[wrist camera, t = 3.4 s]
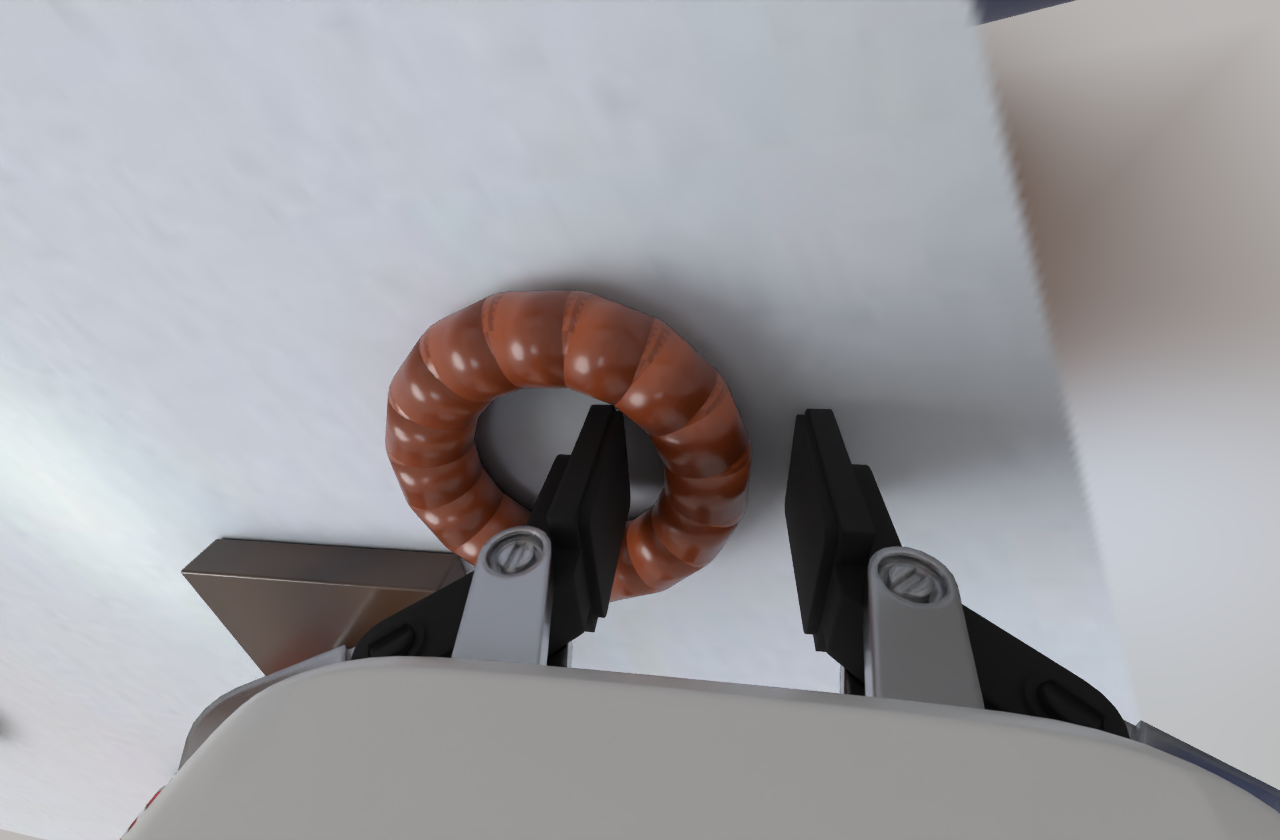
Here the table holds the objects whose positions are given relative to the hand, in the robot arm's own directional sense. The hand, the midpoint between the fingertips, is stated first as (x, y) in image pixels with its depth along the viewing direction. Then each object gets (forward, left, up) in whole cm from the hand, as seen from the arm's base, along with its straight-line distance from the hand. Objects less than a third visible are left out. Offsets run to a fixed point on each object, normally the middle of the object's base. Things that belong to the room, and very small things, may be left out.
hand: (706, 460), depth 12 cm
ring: (+3, 0, 0) cm, 3 cm away
